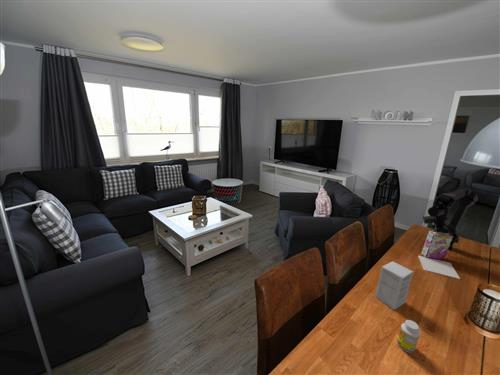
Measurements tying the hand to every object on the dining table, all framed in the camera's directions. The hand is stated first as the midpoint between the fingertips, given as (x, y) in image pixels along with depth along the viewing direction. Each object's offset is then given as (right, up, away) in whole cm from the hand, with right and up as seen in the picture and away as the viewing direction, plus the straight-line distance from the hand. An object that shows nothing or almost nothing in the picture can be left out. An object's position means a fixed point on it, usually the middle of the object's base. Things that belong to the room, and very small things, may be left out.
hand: (434, 237), depth 144 cm
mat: (-8, -15, -12) cm, 20 cm away
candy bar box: (-3, -12, -2) cm, 13 cm away
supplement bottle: (-60, -27, -60) cm, 89 cm away
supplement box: (-52, -21, -38) cm, 68 cm away
